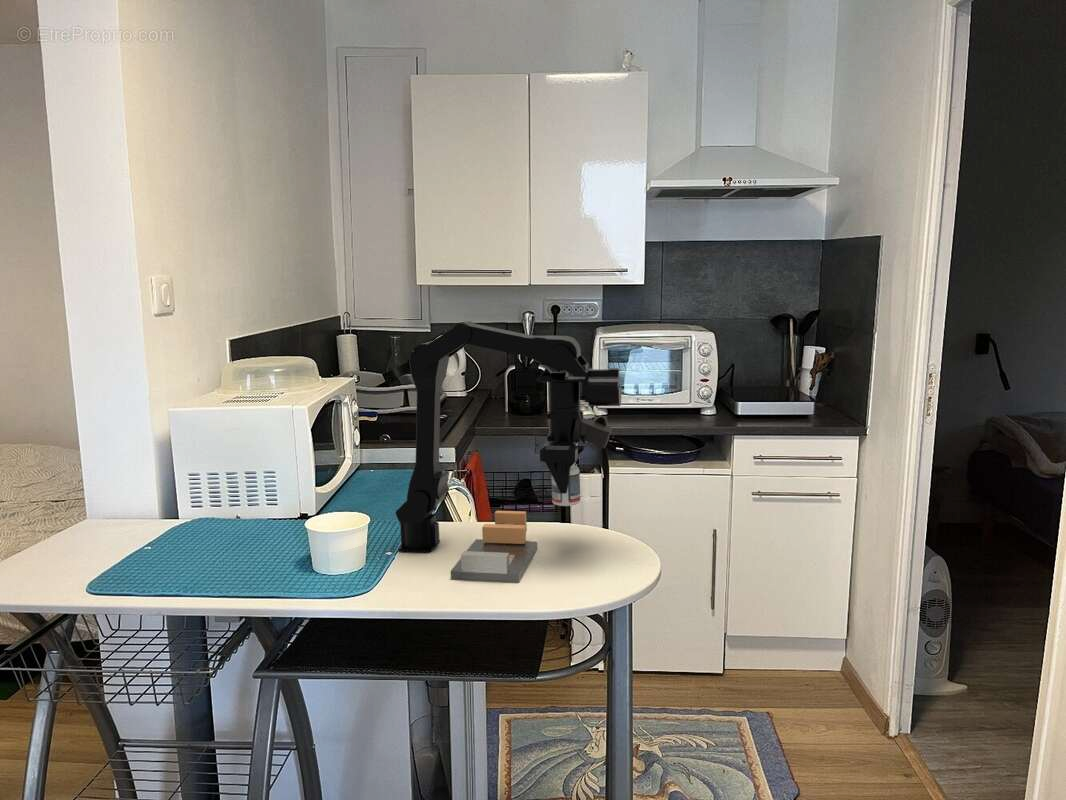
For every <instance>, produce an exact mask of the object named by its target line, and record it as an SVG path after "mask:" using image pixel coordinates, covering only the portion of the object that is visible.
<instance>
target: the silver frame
mask: <svg viewBox="0 0 1066 800" xmlns="http://www.w3.org/2000/svg"><path fill="white" fill-rule="evenodd" d="M537 550H538V541H536V540H535V541H532V540H526V542H525V543H524V544H512V543H486V542H483V538H482V539H481V538H479V539H477V538H476V539H474V541H473V542H472V543H471V545H470V546H469V547H468V548H467V550H464V551H463V552H462V553H461V555H460V558H459V560H458V561H457V562H456V564H454V566H453V568H451V570H450V580H451V581H453V580H454V581H469V582H470V581H475V582H490V583H491V582H495V583H512V584H513V583H514V584H515V583H516V584H519V583H520V582H521V580H522V578H523V577H524V574H525V572H526V571H527V569H528V567H529V565H530V563H531V561H532V560H533V557H534V556H535V554H536V552H537Z"/></svg>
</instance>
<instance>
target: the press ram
mask: <svg viewBox="0 0 1066 800" xmlns="http://www.w3.org/2000/svg"><path fill="white" fill-rule="evenodd" d="M527 527H528V525H527V511H521V510H520V511H519V510H518V511H517V510H516V511H515V510H495V512H494V524H493V523H484V524H483V525H482V526H481V532H482V533H481V534H482V539H483V542H486V543H512V544H524V543H525V542H526V541H527V530H528V528H527Z"/></svg>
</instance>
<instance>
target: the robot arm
mask: <svg viewBox="0 0 1066 800" xmlns="http://www.w3.org/2000/svg"><path fill="white" fill-rule="evenodd" d="M467 345H470V346H475V347H481V348H485V349H489V350H495V351H499V352H505V353H509V354H513V355H519V356H523V357H526V358H528V359H531V360H532V361H533V360H534V361H535V362H537V363H538V364H541V365H543V366H546V368H544V370H543V372H542V373H541V375H540V376H539V377H537V379H536V381H537V382H538V383H547V388H548V389H547V390H548V392H547V393H548V394H547V396H548V412H547V413H546V419H547V420H548V430H549V431H548V434H547V436H546V438H547V442H546V443H545V444H544V445H543V446H542V447H541V449H539V462H542V463H545V464H546V466H547V468H548V470H549V471H550V475H551V474H552V476H553V478H554V480H555V482H556V484H557V487H558V489H559V491H560V493H567V488H568V482H569V476H570V469H571V466H572V465H573V464H574V463H575V462H576V463H577V461H578V460H579V458H580V456H579V455H580V454H581V453H582V452H583V451H584V449H585V448H586V445H584V444H587V443H591V444H593V445H596V447H599V448H602V449H606V447H607V445H608V442H609V440H610V435H611V433H612V430H613V428H612V427H611V425H608V418H606V417H605V416H601V415H599V416H598V417H597V418H596V419H594V420H593V419H592V418H591V419H588V418H585V417H584V411H583V410H582V409H581V395H582V401H584V402H585V403H588V407H621V405H622V404H621V403H622V384H621V375H620V368H618V367H613V368H612V367H611V368H607V369H606V368H605V369H604V368H601V369H600V368H599V369H597V368H596V369H594V368H592V367H591V365H589V363H588V362H587V361H586V359H585V358H584V356H583V355H582V354H581V352H582V349H581V346H580V344H579V342H578V341H577V340H576V338H574V337H572V336H570V335H569V336H568V335H532V334H526V333H521V332H517V331H512V330H506V329H502V328H497V327H494V326H493V327H492V326H488V325H482V324H478V323H475V322H473V321H469V320H465V321H461V322H459V323H456V324H455V325H454V326H453V328H451V329H449V330H448V331H446V332H444V333H443V334H441V335H440V336H438V337H437V338H434V340H432V341H428V342H424V343H420V344H418V345H416V346H414V347H413V349H412V350H411V351H410V353H409V356H408V362H409V368H410V369H409V370H410V375H411V379H412V381H413V385H414V387H415V390H416V414H415V415H416V419H415V420H416V422H415V423H416V424H415V427H416V428H415V429H416V430H415V432H416V433H415V464H414V469H413V471H412V474H411V477H410V480H409V483H408V489H407V494H406V500H405V502H404V503H403V504H402V505H401V506H400V507H399V508H398V509H397V510H396V511H395V515H396V518H397V520H398V522H399V525H400V526H399V527H400V528H399V529H400V544H401V545H400V546H399V547H398V549H397V550H398V552H411V553H412V552H413V553H431V552H433V550H434V549H435V548H436V547H437V546H438V544H439V543H440V542H441V539H440V527H439V525H440V523H439V522H438V521H437V516H436V513H433V512H435V511H436V510H437V508H438V505H439V504H440V503H441V502H442V501H443V500H444V499H445V497H446V495H447V493H448V492H449V491H450V486H449V484H448V483H449V478H450V477H449V476H450V471H449V470H444V471H443V469H442V467H441V464H440V440H441V439H440V435H441V434H440V429H441V426H440V425H441V394H442V393H441V391H442V387H443V385H444V381H445V378H446V376H447V371H448V366H449V361H450V358H451V357H453V356H454V355H456V354H457V353H458V352H460V351H461V350H462V349H463V348H464V347H466V346H467ZM550 368H551V369H550ZM552 369H553V370H556V371H552ZM569 374H570V375H572V376H569ZM580 384H582V385H580ZM581 387H582V389H581ZM580 390H581V391H582V392H581V391H580ZM580 392H581V393H580ZM581 442H582V444H583V445H578V443H581ZM576 463H575V464H576Z"/></svg>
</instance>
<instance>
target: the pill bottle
mask: <svg viewBox="0 0 1066 800" xmlns="http://www.w3.org/2000/svg"><path fill="white" fill-rule="evenodd" d="M576 463H577V461H576V462H575V463H574V464H573V465H572V466H571V469H570V476H569V482H568V488H567V493H560V491H559V489H558V487H557V484H556V482H555V480H554V478H553V476H552V474H551V473H550V476H551V478H550V479H551V503H552V504H554V505H555V506H560V507H571V506H576V505H579V504H580V503H581V478H580V477H581V476H580V468H579V467H578V466H576Z"/></svg>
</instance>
